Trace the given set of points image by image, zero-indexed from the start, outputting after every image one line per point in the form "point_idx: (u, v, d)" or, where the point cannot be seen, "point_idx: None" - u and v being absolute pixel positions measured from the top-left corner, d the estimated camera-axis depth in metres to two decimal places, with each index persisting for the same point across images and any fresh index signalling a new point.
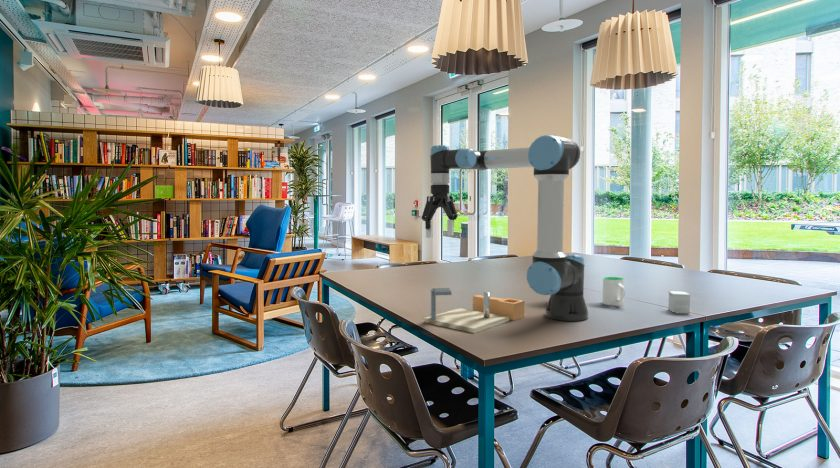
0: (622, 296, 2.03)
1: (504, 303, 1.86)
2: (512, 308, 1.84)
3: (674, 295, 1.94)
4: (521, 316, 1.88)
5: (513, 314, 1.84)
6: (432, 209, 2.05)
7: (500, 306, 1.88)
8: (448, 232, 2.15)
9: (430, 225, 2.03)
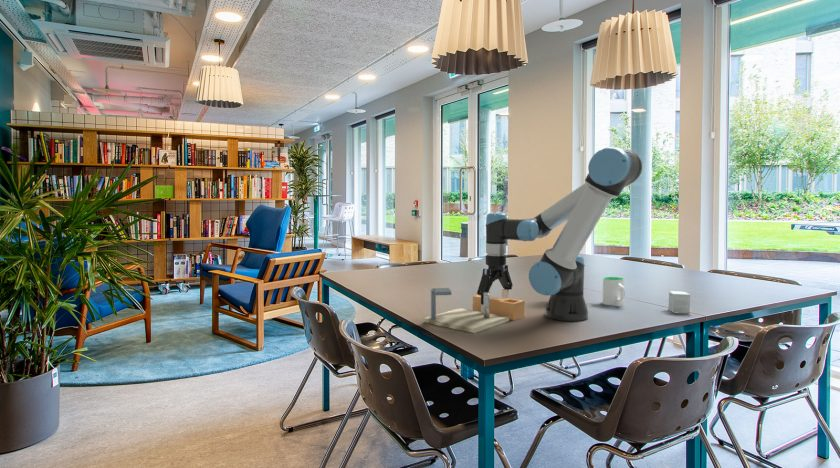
0: (622, 296, 2.03)
1: (504, 303, 1.86)
2: (512, 308, 1.84)
3: (674, 295, 1.94)
4: (521, 316, 1.88)
5: (513, 314, 1.84)
6: (488, 282, 1.89)
7: (500, 306, 1.88)
8: None
9: None
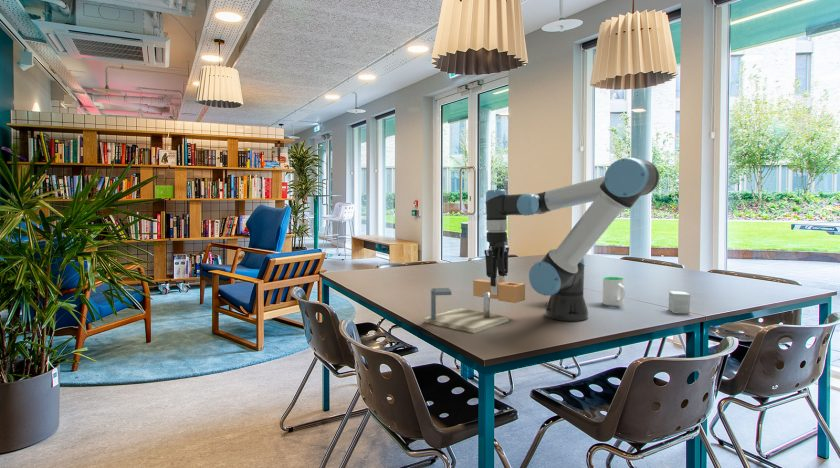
0: (622, 296, 2.03)
1: (505, 286, 1.86)
2: (513, 291, 1.84)
3: (674, 295, 1.94)
4: (522, 299, 1.87)
5: (514, 297, 1.84)
6: (493, 263, 1.89)
7: (501, 289, 1.87)
8: None
9: (496, 282, 1.89)
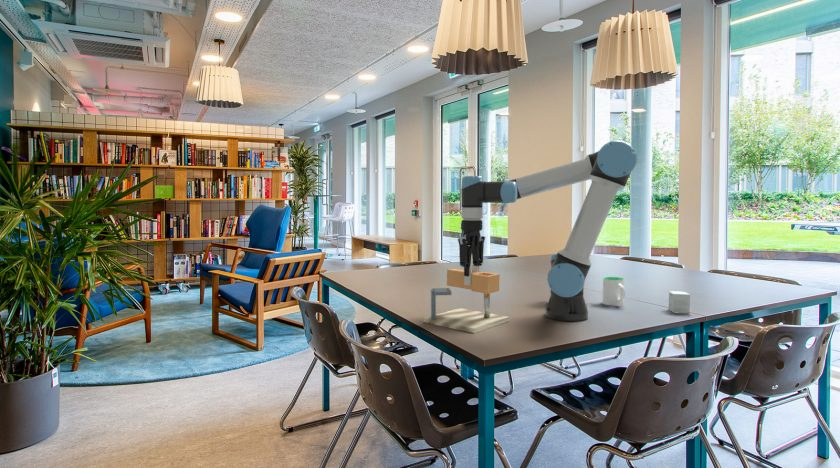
0: (622, 296, 2.03)
1: (478, 276, 1.79)
2: (486, 281, 1.77)
3: (674, 295, 1.94)
4: (495, 290, 1.81)
5: (487, 287, 1.77)
6: (467, 252, 1.83)
7: (474, 279, 1.81)
8: None
9: (469, 272, 1.83)
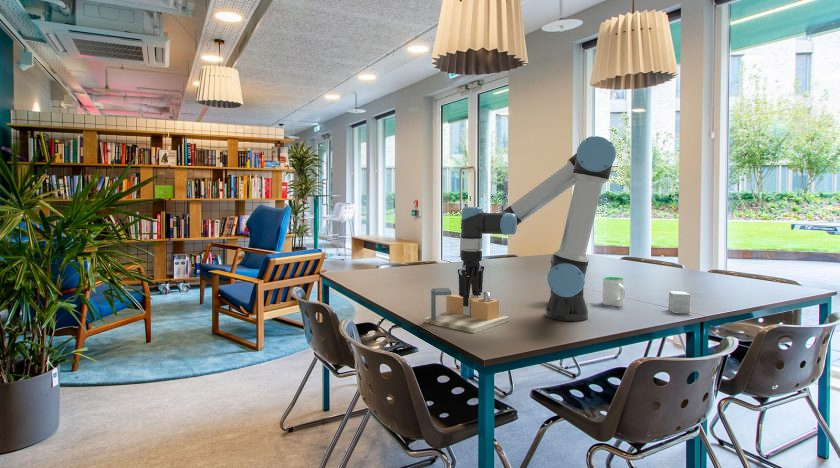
0: (622, 296, 2.03)
1: (477, 303, 1.80)
2: (485, 308, 1.78)
3: (674, 295, 1.94)
4: (495, 316, 1.81)
5: (486, 314, 1.78)
6: (467, 282, 1.83)
7: (473, 306, 1.81)
8: None
9: (468, 302, 1.84)
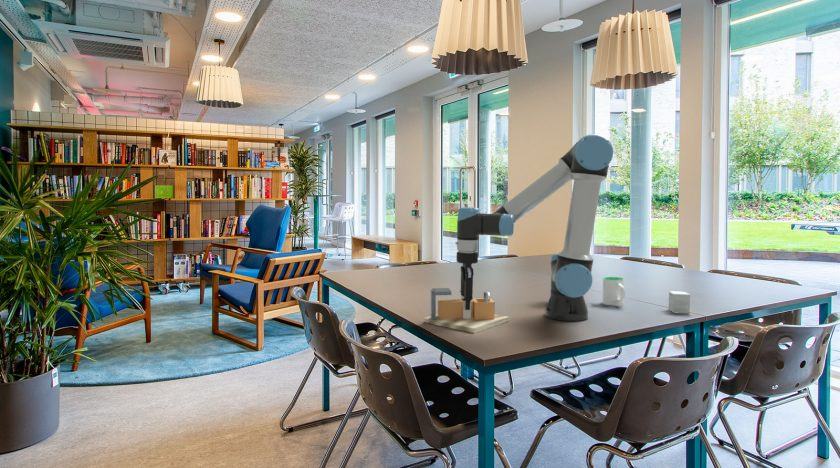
0: (622, 296, 2.03)
1: (482, 303, 1.79)
2: (492, 307, 1.80)
3: (674, 295, 1.94)
4: None
5: (493, 313, 1.80)
6: None
7: (477, 307, 1.80)
8: None
9: (470, 305, 1.79)
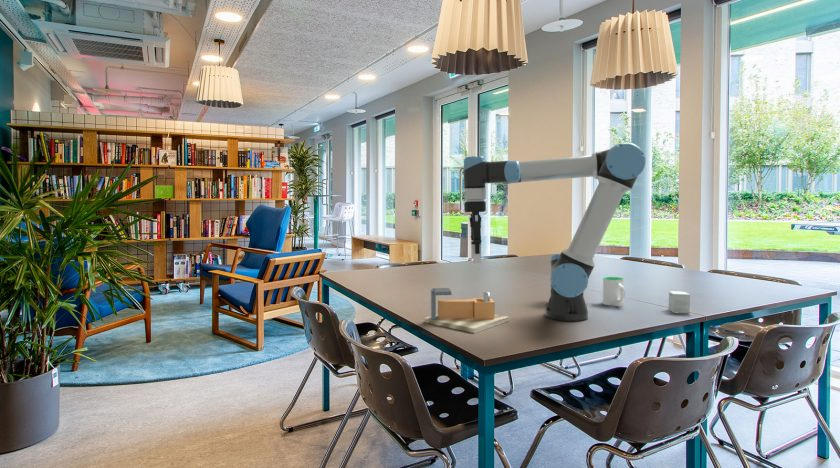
0: (622, 296, 2.03)
1: (482, 303, 1.79)
2: (492, 307, 1.80)
3: (674, 295, 1.94)
4: None
5: (493, 313, 1.80)
6: None
7: (477, 307, 1.80)
8: (473, 255, 1.89)
9: (480, 249, 1.75)
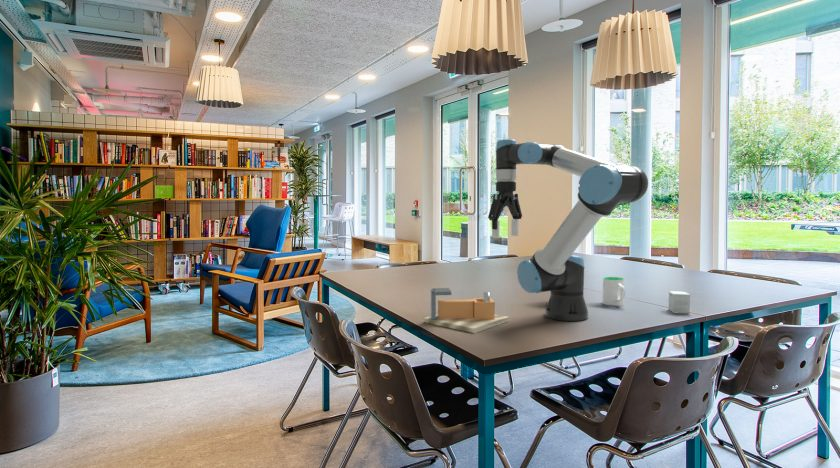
0: (622, 296, 2.03)
1: (482, 303, 1.79)
2: (492, 307, 1.80)
3: (674, 295, 1.94)
4: None
5: (493, 313, 1.80)
6: (499, 208, 1.92)
7: (477, 307, 1.80)
8: (512, 232, 2.02)
9: (497, 225, 1.90)
